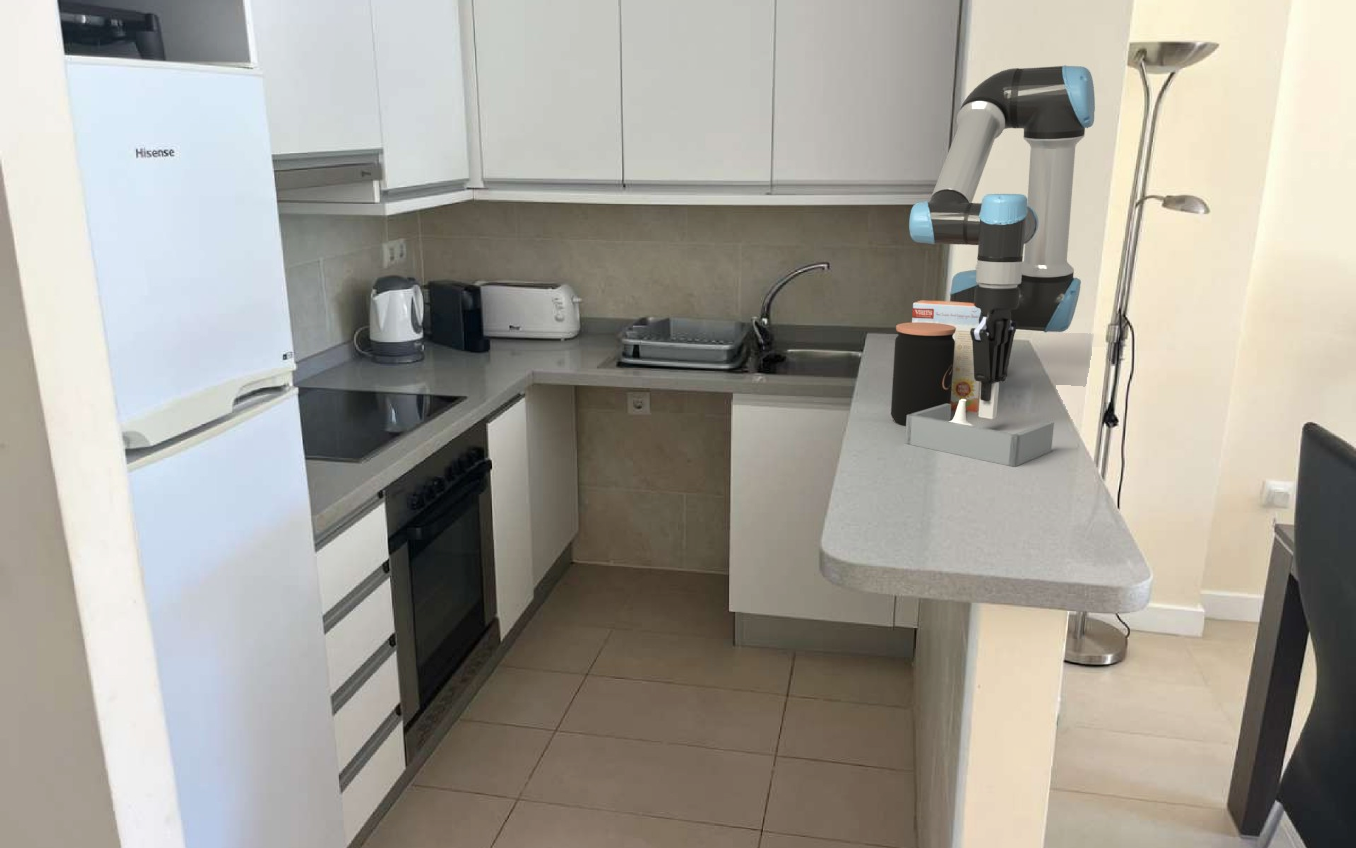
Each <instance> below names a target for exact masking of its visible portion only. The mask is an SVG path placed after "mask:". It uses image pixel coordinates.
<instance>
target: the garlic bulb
mask: <svg viewBox="0 0 1356 848" xmlns="http://www.w3.org/2000/svg"><path fill="white" fill-rule="evenodd" d="M965 403H966V400H965V399H961V400H959V404H958V406H957V409H956V410H955V414H954V416H953V418H952V419H950V421H949V422H954V423H959V424H964V425H970V426H974V425H973V424H972V423H970V422H968V421H967V414H966V412H967V411H966V408H965Z"/></svg>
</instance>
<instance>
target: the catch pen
mask: <svg viewBox="0 0 1356 848" xmlns="http://www.w3.org/2000/svg"><path fill="white" fill-rule="evenodd" d="M951 412H952V409H951V404H947V403H946V404H943V405H939V406H936V407H932V408H929V409H926V410H922V411H919V412H915V413H912V414H909V415H907V421H906V426H905V437H904V438H905V439H904V440H905V441H904V444H906V445H911V446H916V447H919V448H925V449H930V450H934V451H940V452H943V453H948V454H953V455H957V456H963V457H967V458H972V459H977V460H980V461H986V462H991V463H995V464H1000V465H1004V466H1009V467H1015V468H1016V467H1017V466H1020V465H1022V464H1025V463H1027V462H1030V461H1032V460H1035V459H1037V458H1039V457H1041V456H1044V455H1047V454H1049V453H1052V447H1053V438H1054V437H1053V436H1054V429H1055V422H1053V421H1047V422H1043V423H1040V424H1038V425H1035V426H1032V427H1030V428H1027V429H1025V430H1021V431H1018V432H1017V433H1012V432H1011V433H1010V432H1005V431H1000V430H996V429H990V428H984V427H980V426H974V425H973V426H970V425H964V424H959V423H954V422H949V421H951V415H952V413H951Z"/></svg>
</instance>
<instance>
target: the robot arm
mask: <svg viewBox="0 0 1356 848" xmlns="http://www.w3.org/2000/svg"><path fill="white" fill-rule="evenodd" d="M1095 111H1096V98H1095V87H1094V81H1093V76H1092V73H1091V71H1090V70H1089V69H1088V68H1087V67H1086V66H1078V65H1077V66H1076V65H1075V66H1074V65H1057V66H1056V65H1055V66H1044V67H1043V66H1042V67H1041V66H1040V67H1039V66H1038V67H1025V68H1019V67H1018V68H1017V67H1015V68H1007V69H1003V70H1001V71H998V72H996V73H994V74H992V75H991V76H989V77H988V78H986V79H984V80H983V81H982V82H981V83H980V84H978V85H977V86H976V87H975V88H973V90H972V91H971V92H970V93H969V94H968V95H967V97H966V98H965V100H963V103H962V104H961V106H960V108H959V111H958V113H957V116H956V127H957V130H956V132H955V136H954V138H953V140H952V141H951V142H952V143H951V146H950V147H949V150H948V153H947V156H946V158H945V160H944V163H943V166H942V169H941V171H940V173H939V177H938V179H937V181H936V184H935V186H934V189H933V191H932V194H931V197H930V199H929V201H927V200H925V201H920V202H917V203H915V204H914V205H913V206H912V208H911V210H910V214H909V221H908V222H909V223H908V226H909V227H908V228H909V235H910V237H911V239H912V241H914V242H916V243H920V244H922V243H923V244H931V245H961V246H962V245H965V246H966V245H968V246H977V247H978V248H977V257H976V258H977V261H976V264H975V269H972V270H964V271H960V272H957V273H956V274H955V275H953V277H952V280H951V288H950V292H949V296H950V297H949V301H951V302H965V303H974V306H975V307H977V308H980V310H981V313H980V317H979V325H978V327H977V328H971V330H970V335H971V338H972V344H973V363H974V379H975V380H976V381H980V382H981V389H980V403H979V411H978V418H982V419H989V420H994V419H997V414H998V403H999V402H998V401H999V392H1000V391H999V390H1000V389H999V388H1000V382H1001V383H1005V382H1006V376H1007V375H1008V369H1009V364H1010V358H1011V353H1012V348H1013V343H1014V338H1015V334H1016V331H1017V330H1019V331H1020V330H1021V331H1033V332H1034V331H1035V332H1044V333H1061V332H1066V330H1068V329H1069V328H1070V326H1071V325H1072V321H1073V319H1074V315H1075V312H1076V308H1077V304H1078V301H1079V297H1080V291H1081V283H1082V281H1081V279H1080V278H1078V277H1074V274H1075V273H1074V271H1075V269H1074V267H1072V265H1071V264H1070V263H1069V262H1068V250H1069V249H1068V248H1069V239H1070V238H1069V235H1070V223H1071V212H1072V211H1071V210H1072V209H1071V208H1072V200H1073V199H1072V196H1073V182H1074V172H1075V171H1074V169H1075V159H1076V158H1075V157H1076V156H1075V155H1076V146H1077V144H1078V143H1079V142H1080V141H1081V140H1082V139H1084V137H1085V133H1086V129H1088V128H1091V127H1093V125H1094V122H1095ZM1006 129H1007V130H1008V129H1023V139H1024V140H1025V142H1026V143H1028V145H1029V146H1030V154H1029V155H1030V156H1029V171H1028V173H1029V174H1028V185H1027V186H1028V188H1027V196H1026V195H1025V194H1023V193H1022V194H1020V193H988V194H985V195H984V196H983V197H982V200H981V202H977V203H976V202H973V201H974V198H975V194H976V192H977V189H978V186H979V185H980V181H981V178H982V176H983V173H984V170H985V168H986V164H987V162H988V159H989V156H990V153H991V151H992V148H993V145H994V142H995V140H996V139H997V138H999V137H1000V136H1001V135H1002V134H1003V131H1004V130H1006ZM1023 255H1024V256H1023Z"/></svg>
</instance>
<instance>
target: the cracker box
mask: <svg viewBox="0 0 1356 848" xmlns="http://www.w3.org/2000/svg"><path fill="white" fill-rule="evenodd" d="M980 313H981V310H980V308H977V307H975V306H974V303H965V302H951V301H950V300H949V301H947V300H928V299H927V300H926V299H925V300H924V299H923V300H922V299H921V300H918V301H915V302H913V304H912V318H911V323H913V322H925V323H939V324H946V325H951V326H954V327H956V331H955V333H954V334H953V339H954V340H955V349H954V363H953V377H952V391H951V410H954V409H957V406H958V404H959V400H961V399H965V400H966V403H965V408H966V412H971V413H979V403H980V389H981V382H980V381H976V380H975V379H974V363H973V344H972V338H971V335H970V330H971V328H977V327H978V325H979V317H980Z"/></svg>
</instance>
